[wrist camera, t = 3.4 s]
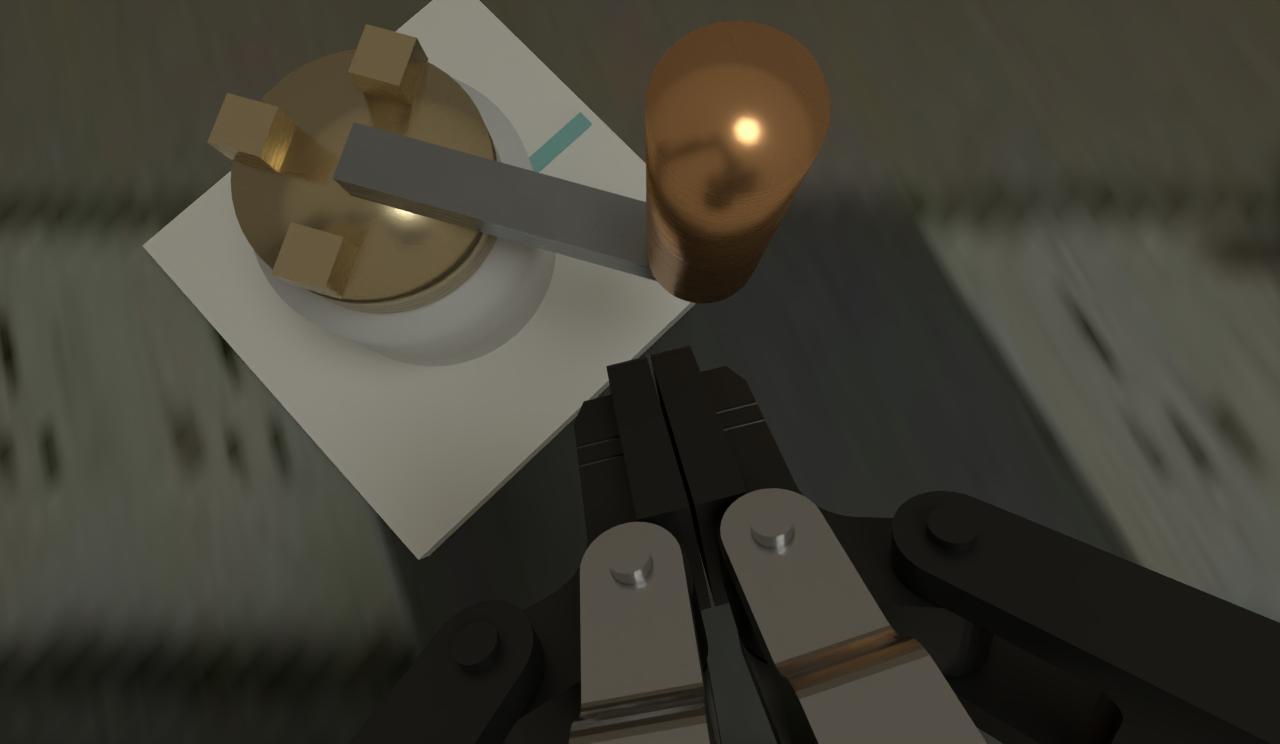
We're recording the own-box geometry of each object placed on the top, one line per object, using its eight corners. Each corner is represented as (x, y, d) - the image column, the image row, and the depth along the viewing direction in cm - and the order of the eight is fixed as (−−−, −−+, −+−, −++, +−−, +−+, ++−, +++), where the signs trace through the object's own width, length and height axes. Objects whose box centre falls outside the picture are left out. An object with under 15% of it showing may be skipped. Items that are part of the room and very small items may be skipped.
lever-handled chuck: (234, 276, 25) (-151, 96, 13) (317, 61, 26) (36, -286, 14) (707, 412, 24) (766, 355, 12) (770, 183, 25) (883, -78, 13)
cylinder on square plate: (429, 555, 31) (361, 582, 24) (164, 255, 33) (26, 194, 26) (735, 265, 33) (761, 206, 25) (465, -1, 35) (416, -126, 28)
